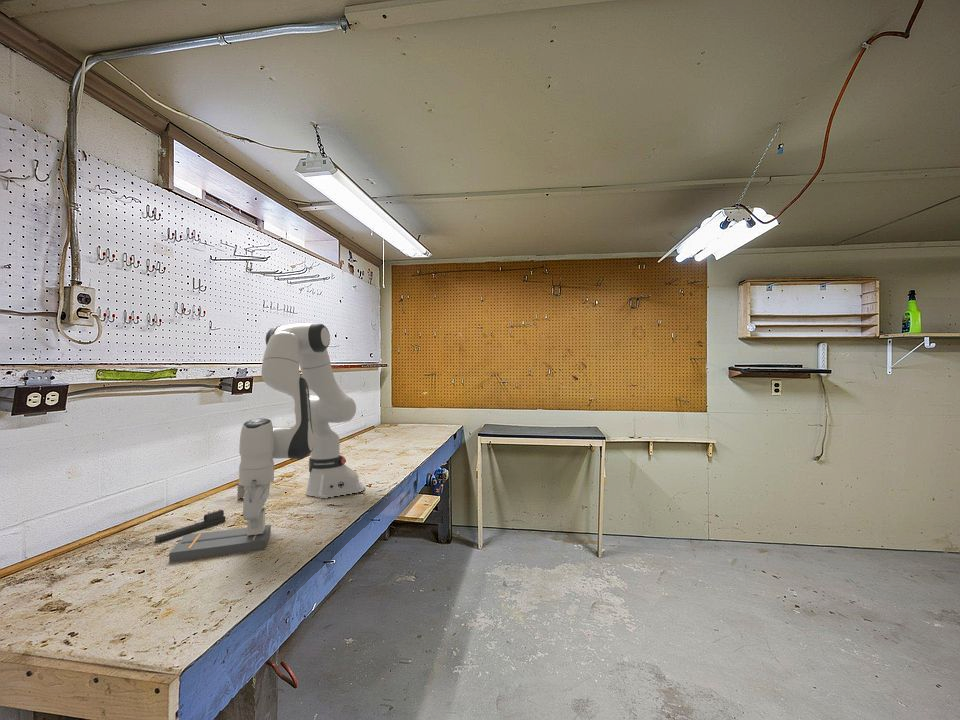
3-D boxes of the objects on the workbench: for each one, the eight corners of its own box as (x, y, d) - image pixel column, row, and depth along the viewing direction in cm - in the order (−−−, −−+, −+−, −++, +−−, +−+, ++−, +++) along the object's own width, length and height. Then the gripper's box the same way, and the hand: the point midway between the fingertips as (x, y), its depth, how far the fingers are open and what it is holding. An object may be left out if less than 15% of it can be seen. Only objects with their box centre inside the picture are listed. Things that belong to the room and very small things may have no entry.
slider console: (270, 532, 124) (270, 524, 124) (264, 549, 113) (264, 539, 113) (184, 543, 117) (184, 534, 117) (169, 562, 105) (169, 552, 105)
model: (268, 494, 164) (268, 475, 164) (242, 502, 154) (243, 481, 154) (263, 493, 165) (263, 474, 165) (237, 501, 155) (237, 480, 156)
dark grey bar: (159, 545, 117) (159, 530, 117) (155, 543, 118) (155, 529, 118) (226, 523, 133) (226, 510, 133) (221, 521, 134) (221, 508, 135)
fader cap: (265, 528, 120) (265, 507, 120) (263, 533, 116) (263, 511, 116) (249, 530, 119) (249, 508, 119) (246, 535, 115) (247, 513, 115)
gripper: (263, 484, 109) (263, 536, 109) (273, 467, 128) (273, 511, 128) (236, 487, 107) (236, 540, 107) (250, 469, 126) (250, 514, 126)
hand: (256, 524), depth 118 cm, fingers closed on fader cap, 4 cm apart
